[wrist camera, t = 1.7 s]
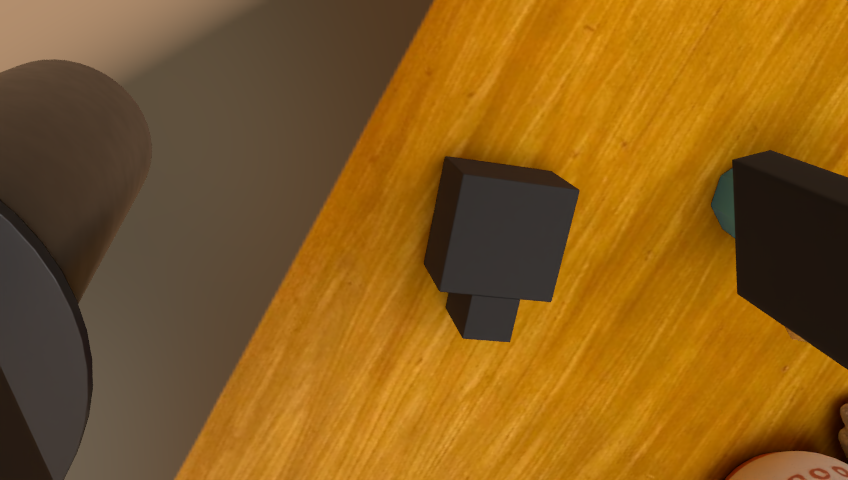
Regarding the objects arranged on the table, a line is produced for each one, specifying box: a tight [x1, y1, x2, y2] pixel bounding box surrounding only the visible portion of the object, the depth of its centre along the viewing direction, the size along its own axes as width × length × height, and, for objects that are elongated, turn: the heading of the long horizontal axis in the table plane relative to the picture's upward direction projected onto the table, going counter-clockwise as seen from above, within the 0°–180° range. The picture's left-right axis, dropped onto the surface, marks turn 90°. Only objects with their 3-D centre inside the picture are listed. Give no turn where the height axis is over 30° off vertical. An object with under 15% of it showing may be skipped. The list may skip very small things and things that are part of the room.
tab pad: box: [424, 156, 579, 342], centre depth 45 cm, size 7×10×4 cm
